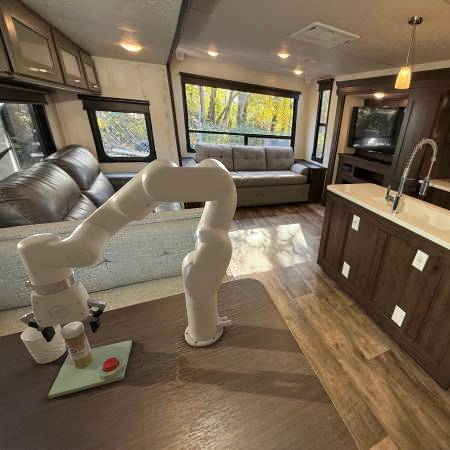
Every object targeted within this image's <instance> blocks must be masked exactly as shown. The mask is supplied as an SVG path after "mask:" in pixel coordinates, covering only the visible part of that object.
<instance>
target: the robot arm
mask: <svg viewBox="0 0 450 450" xmlns="http://www.w3.org/2000/svg"><path fill="white" fill-rule="evenodd" d="M198 202H199V203H200V202H201V203H202V202H205V204H204V208H203V212H202V214H201V217H200V220H199V222H198V225H197V227H196V229H195V233H194V234H193V235H194V236H193V244H194V249H195V250H192V251H190V252H188V253H187V254H186V255H185V256H184V258H183V260H182V262H181V274H182V275H181V277H182V282H183V283H182V284H183V289H184V296H185V305H186V314H187V315H186V316H187V323H188V325H187V327H186V328H185V331H184V339H185V341H186V343H187V344H188V345H190V346H192V347H199V348H200V347H201V348H203V347H207V346H210V345H212V344H214V343H215V342H217V341H218V340H219V339H220V338H221V336H222V335H223V332H224V327H231V326H233V320H232V319H228V316H227V315H226V316H223V317H221V316H219V310H218V291H219V289H220V287H221V285H222V283H223V280H224V278H225V276H226V272H227V270H228V268H229V266H230V263H231V260H232V256H233V252H234V251H233V250H234V249H233V244H232V241H231V238H230V236H229V233H230V229H231V225H232V222H233V219H234V217H235V212H236V209H237V204H238V192H237V187H236V184H235V181H234V179H233V175H232V174H231V173H230V171H229V170H228V169H227V168H226V166H225V165H224V164H222V162H220V161H219V160H217V159H214V158H205V159H203V160H201V161H200V162H199V163H198V164H197V166H178V165H177V164H176V163H175V162H174V161H172V160H170V159H167V158H157V159H154V160H152V161H151V162H150V163H148V164H147V165H146V166H145V167H144V168H142V169H141V170H140V171H139V172H138V173H137V174H135V175H134V176H133V177H132V178H131V179H129V181H128V182H126V183H125V184H124V185H123V186H122V187H121V188H119V190H118V191H116V192H115V193H114V194H113V195H112V196H110V197H109V198H108V199H107V200H106V202H104V203H103V204H102V205H101V206H99V207H98V208H97V209H95V211H93V212H92V213H91V214H90V215H89V216H88V217H86V218H85V219H84V220H83V221H82V222H81V223H80V224H79V225H77V227H76V228H75V229H74V230H73V231H72V232H71V234H70V235H69V236H68V237H65V239H63V238H62V237H61V236H60V235H59V234H57V233H52V232H51V233H50V232H49V233H38V234H34V235H30V236H28V237H25V238H23V239H21V240H19V242H18V243H17V244H16V250H17V253H18V255H19V258H20V261H21V263H22V265H23V267H24V270H25V272H26V274H27V276H28V279H29V281H25V282H24V287H25V288H31V289H32V292H31V293H30V302H31V303H30V304H31V309H32V310H30V311H28V312H26V313H25V314H23V315H22V316H21V317H20V319H19V321H20V322H22V323H24V324H25V325H27V327H32V328H35V329H37V331H39V332H40V331H41V333H42V335H43V338H45V339H46V342H50V341H52V339H53V337H54V335H55V334H56V332H55V330H54V328H53V326H55V325H61V326H62V325H67V324H69V323H72V322H82V321H84V320H87V321H89V326H90V329H91V332H92V334H96V333H97V332H98V329H99V328H101V321H100V317H101V316H102V315H103V313H104V312H105V309H106V307H107V304H108V302H107V301H105V300H96V299H91V297H90V296H89V293H88V291H87V289H86V287H85V286H84V284H83V283H82V281H81V280H80V279H77V277H76V275H75V272H74V268H75V269H77V268H88V267H91V266H94V265H95V264H97V263H98V262H99V261H100V260H101V257H102V255H103V253H104V251H105V248H106V247H107V244H108V242H109V241H110V240H111V239H112V238H113V237H114V236H115V235H116V234H118V232H119V231H121V230H122V229H123V228H124V227H125V226H127V225H128V224H130V223H131V222H140V221H143V220H145V219H146V218H147V217H149V215H150V214H151V213H152V212H153V211H154V210H156V209H157V208H158V207H159V206H160V205H161V204H162V203H175V204H176V203H198ZM94 308H97V310H96V309H94Z"/></svg>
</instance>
